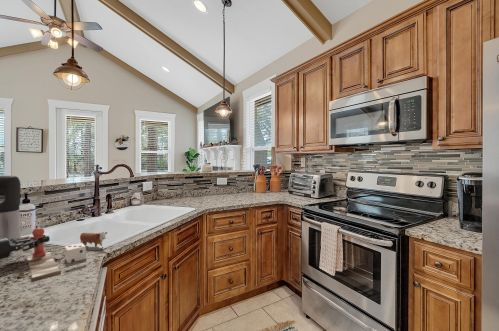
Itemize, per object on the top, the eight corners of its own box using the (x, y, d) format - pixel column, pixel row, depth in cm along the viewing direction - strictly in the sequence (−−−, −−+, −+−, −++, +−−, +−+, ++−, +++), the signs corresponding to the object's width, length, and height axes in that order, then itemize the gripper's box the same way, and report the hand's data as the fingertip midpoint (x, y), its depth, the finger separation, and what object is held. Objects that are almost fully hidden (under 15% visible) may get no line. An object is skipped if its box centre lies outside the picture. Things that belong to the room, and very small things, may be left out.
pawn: (32, 255, 104) (31, 227, 103) (45, 252, 107) (44, 225, 106) (33, 258, 101) (31, 229, 100) (46, 255, 104) (45, 227, 103)
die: (65, 261, 101) (64, 246, 101) (82, 256, 105) (82, 242, 105) (68, 265, 97) (67, 250, 97) (86, 261, 101) (85, 246, 101)
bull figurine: (103, 251, 111) (103, 233, 111) (77, 249, 114) (77, 231, 113) (110, 248, 115) (110, 230, 115) (86, 246, 118) (85, 228, 118)
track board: (25, 259, 103) (25, 256, 103) (50, 254, 109) (50, 251, 108) (31, 281, 85) (31, 277, 85) (60, 273, 91) (60, 270, 91)
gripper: (-4, 244, 88) (54, 231, 103) (-17, 237, 95) (39, 226, 110) (-3, 265, 88) (55, 249, 103) (-16, 257, 95) (40, 243, 110)
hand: (46, 237), depth 106 cm, fingers closed on pawn, 3 cm apart
